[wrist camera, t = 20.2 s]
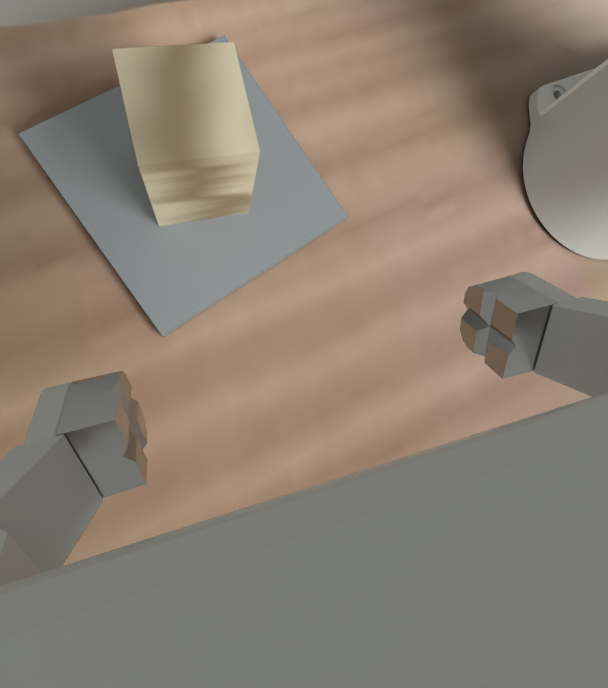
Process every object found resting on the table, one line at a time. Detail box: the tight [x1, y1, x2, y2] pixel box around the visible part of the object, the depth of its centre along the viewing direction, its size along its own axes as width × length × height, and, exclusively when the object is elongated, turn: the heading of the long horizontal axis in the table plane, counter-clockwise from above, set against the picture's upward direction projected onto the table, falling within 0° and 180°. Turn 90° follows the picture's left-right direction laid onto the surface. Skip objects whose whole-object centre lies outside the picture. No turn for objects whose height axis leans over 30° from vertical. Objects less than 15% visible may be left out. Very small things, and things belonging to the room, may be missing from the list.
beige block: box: [112, 42, 260, 226], centre depth 26 cm, size 6×6×8 cm
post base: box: [18, 36, 348, 337], centre depth 27 cm, size 16×16×6 cm
